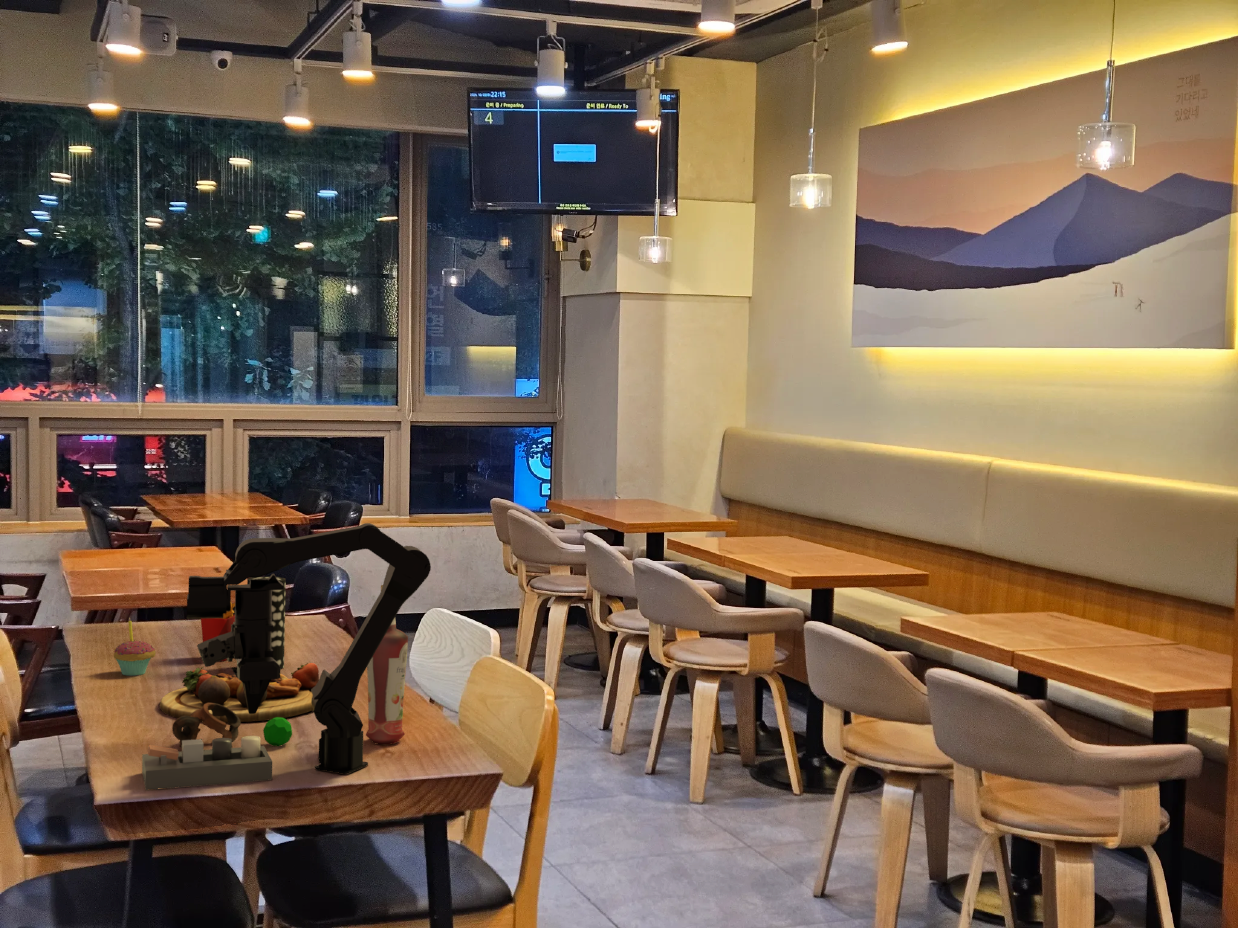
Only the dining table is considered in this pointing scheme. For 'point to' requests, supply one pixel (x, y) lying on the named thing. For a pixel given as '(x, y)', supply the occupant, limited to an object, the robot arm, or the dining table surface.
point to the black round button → (221, 749)
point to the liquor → (387, 687)
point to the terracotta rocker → (163, 752)
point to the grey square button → (192, 751)
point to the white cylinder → (250, 747)
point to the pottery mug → (206, 723)
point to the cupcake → (133, 655)
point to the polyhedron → (277, 731)
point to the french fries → (217, 625)
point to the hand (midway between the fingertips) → (252, 713)
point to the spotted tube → (277, 621)
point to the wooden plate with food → (243, 695)
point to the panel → (205, 770)
